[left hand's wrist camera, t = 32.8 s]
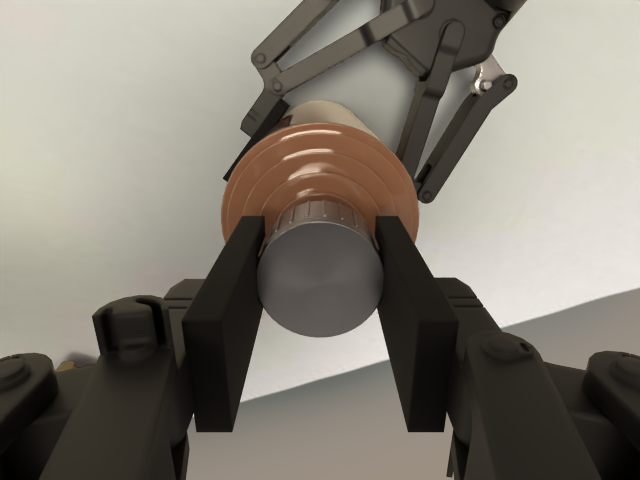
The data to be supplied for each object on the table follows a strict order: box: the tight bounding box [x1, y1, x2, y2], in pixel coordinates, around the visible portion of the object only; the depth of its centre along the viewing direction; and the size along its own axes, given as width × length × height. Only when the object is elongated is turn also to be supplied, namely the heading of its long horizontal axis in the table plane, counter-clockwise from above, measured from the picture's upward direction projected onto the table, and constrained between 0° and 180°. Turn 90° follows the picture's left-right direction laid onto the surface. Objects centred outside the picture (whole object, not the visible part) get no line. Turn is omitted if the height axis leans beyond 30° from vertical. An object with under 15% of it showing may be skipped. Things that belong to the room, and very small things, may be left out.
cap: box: [256, 200, 384, 337], centre depth 13 cm, size 4×4×2 cm
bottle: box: [221, 100, 419, 244], centre depth 24 cm, size 8×8×24 cm
